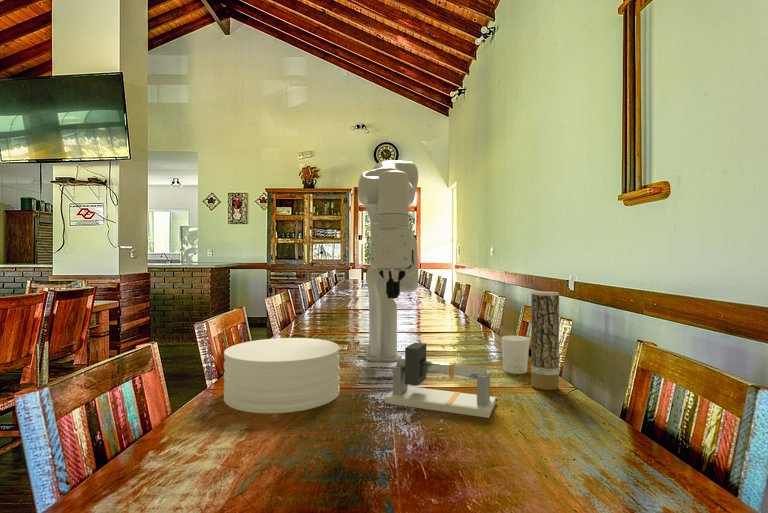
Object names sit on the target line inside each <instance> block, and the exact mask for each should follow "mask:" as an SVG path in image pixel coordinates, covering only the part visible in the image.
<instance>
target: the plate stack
mask: <svg viewBox="0 0 768 513" xmlns="http://www.w3.org/2000/svg"><path fill="white" fill-rule="evenodd" d="M340 349H341V348H340V345H339V344H338V343H336V342H333V341H331V340H325V339H319V338H312V337H311V338H305V337H280V338H279V337H278V338H277V337H276V338H266V339H265V338H263V339H258V340H257V339H256V340H251V341H245V342H241V343H237V344H234V345H231V346H229V347H227V348H226V349H224V350H223V358H224V361H223V369H224V372H223V381H224V382H223V391H224V393H223V401H224V403H225V405H227V406H228V407H230V408H232V409H235V410H238V411H242V412H247V413H256V414H283V413H285V414H286V413H294V412H301V411H306V410H310V409H315V408H319V407H321V406H323V405H326V404H329V403H330V402H332V401H335V399H336V398H338V397H339V395H340V392H341V391H340V388H341V387H340V383H341V382H340V380H341V378H340V355H339V354H340V352H341V351H340Z"/></svg>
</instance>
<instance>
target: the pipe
mask: <svg viewBox="0 0 768 513" xmlns="http://www.w3.org/2000/svg"><path fill="white" fill-rule="evenodd" d="M450 363H451V362H440V361H438V362H437V361H430V360H429V361H428V360H426V361H419V373H420V374H426V375H430V376H431V375H432V376H440V377H447V378H450V376H449V367H450ZM395 365H396V366H400V367H402V370H403V372H405V358H401V359H400V358H398V360H396V364H395ZM487 371H488V368H487V366H479V365H469V364H459V363H456V364H455V365H454V377H455V379H457V378H458V379H467V380H475V381H477V375H485V374H486V373H487Z"/></svg>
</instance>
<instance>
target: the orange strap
mask: <svg viewBox="0 0 768 513" xmlns="http://www.w3.org/2000/svg"><path fill="white" fill-rule="evenodd" d="M449 363H450V367H449V376H450V377H449V378H450V379H456V377H454V365H455V364H457V363H456V362H449ZM454 392H455V393H454V394H453V395H452V396H451V398H450V399H449V400H448V401H447V402H446V404H445V405H449V406H450V405H451V404H452V403H453V401H454V400H455V399H456V398H457V396H458V395H459V394H460V393H461V392H460V391H454Z"/></svg>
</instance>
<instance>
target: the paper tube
mask: <svg viewBox="0 0 768 513" xmlns="http://www.w3.org/2000/svg"><path fill="white" fill-rule="evenodd" d="M530 335H531V343H530V344H531V345H530V347H531V348H530V349H531V351H530V352H531V356H530V357H531V358H530V359H531V360H530V361H531V362H530V363H531V364H530V365H531V366H530V367H531V369H530V370H531V372H530V373H531V380H530V381H531V386H532V387H533V388H535V389H537V390H541V391H556V390H558V389H559V387H560V386H559V384H560V383H559V382H560V380H559V379H560V378H559V374H560V293H559V292H557V291H540V290H539V291H538V290H537V291H532V292H531V333H530Z"/></svg>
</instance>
